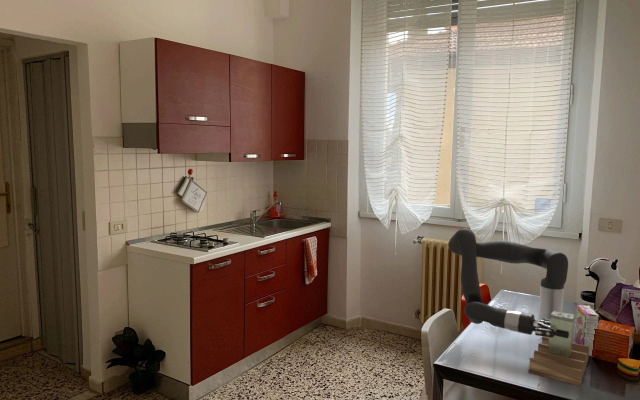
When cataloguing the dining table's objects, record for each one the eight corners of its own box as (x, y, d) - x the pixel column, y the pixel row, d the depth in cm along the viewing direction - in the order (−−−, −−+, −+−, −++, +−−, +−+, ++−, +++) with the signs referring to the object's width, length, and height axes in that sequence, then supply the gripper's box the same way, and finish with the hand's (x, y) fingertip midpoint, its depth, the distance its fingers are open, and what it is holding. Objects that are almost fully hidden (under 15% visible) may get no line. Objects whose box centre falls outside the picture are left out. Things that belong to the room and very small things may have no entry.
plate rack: (541, 348, 190) (542, 335, 190) (588, 358, 182) (589, 345, 181) (528, 372, 170) (529, 359, 169) (580, 385, 161) (581, 371, 160)
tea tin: (550, 347, 179) (553, 310, 178) (571, 352, 175) (574, 314, 174) (547, 352, 175) (550, 314, 173) (569, 357, 171) (572, 319, 169)
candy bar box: (573, 344, 195) (576, 304, 193) (586, 345, 194) (589, 305, 192) (582, 356, 184) (585, 314, 182) (596, 357, 183) (600, 315, 181)
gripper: (515, 317, 176) (567, 328, 166) (524, 307, 188) (573, 316, 178) (514, 337, 177) (566, 349, 167) (522, 325, 189) (571, 336, 179)
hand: (569, 332), depth 173 cm, fingers closed on tea tin, 5 cm apart
